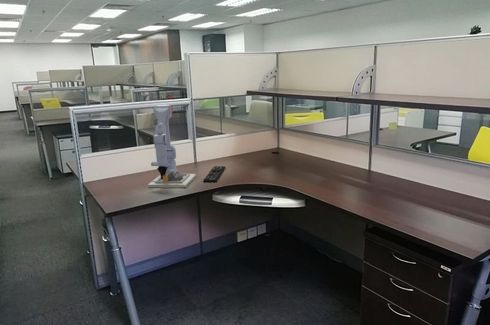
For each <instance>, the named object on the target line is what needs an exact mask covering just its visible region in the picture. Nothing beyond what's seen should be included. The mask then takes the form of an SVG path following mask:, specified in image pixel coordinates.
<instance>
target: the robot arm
mask: <svg viewBox="0 0 490 325" xmlns="http://www.w3.org/2000/svg"><path fill="white" fill-rule="evenodd" d="M172 111H173V110H172V105H171V104H158V105H157V104H155V105H154V106H153V114H154V117H156V118H157V124H156V125H155V129H154V130H155V131H154V135H153V138H152V139H153V144H154V149H155V158H156V161H153V162H150V167H157V168H156V170H157V171H158V173H159V174H160V175H161V179H163V175H165V174H167V173H168V172H169V170H175V172H176V173H178V172H179V170H178V169H177V162H176V158H177V152H176V147H175V146H174V145H173V144H171V135H170V134H171V133H170V125H169V124H170V123H169V119H170V118H172V115H173V114H172Z"/></svg>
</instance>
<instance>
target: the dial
mask: <svg viewBox="0 0 490 325" xmlns="http://www.w3.org/2000/svg"><path fill="white" fill-rule="evenodd" d="M182 174H183V173H178V172H175V170H169V172H168V173H167V174H165V175H163V179H162V180H163V181H165V182H166V181H179V180H182V179H183V175H182Z"/></svg>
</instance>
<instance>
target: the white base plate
mask: <svg viewBox="0 0 490 325" xmlns="http://www.w3.org/2000/svg"><path fill="white" fill-rule="evenodd" d="M181 174H182V175H183V179H182V180H179V181H166V182H165V181H163V180H162V179H161V174H160V175H158V176H157V177H156V178H155V179H153V180H152V181H150V182H149V183H148V184H147V187H148V188H187V187H188V186H189V185H190V184H191V182H192V181H193V180H194V179H195V178H196V177H197V174H196V173H181Z"/></svg>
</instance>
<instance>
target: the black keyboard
mask: <svg viewBox="0 0 490 325" xmlns="http://www.w3.org/2000/svg"><path fill="white" fill-rule="evenodd" d="M225 169H226V166H224V165H223V166H221V165H220V166H218V165H217V166H216V165H214V166H213V167H212V168H211V170H210V171H209V172H208V174H207V175H206V176H205V177H204V179H203V183H218V181H219V179H220V177H221V175H222V174H223V172H224V171H225Z"/></svg>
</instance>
